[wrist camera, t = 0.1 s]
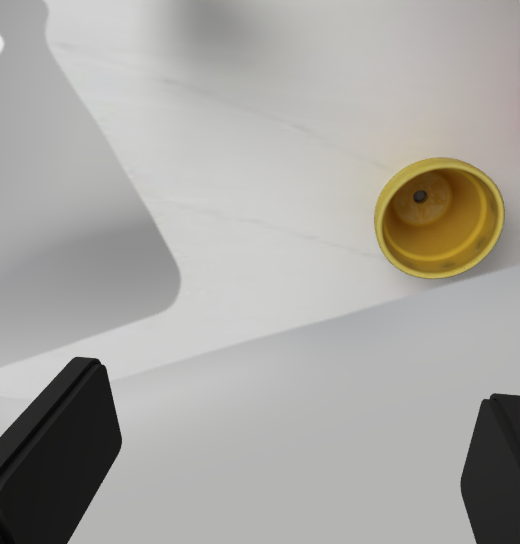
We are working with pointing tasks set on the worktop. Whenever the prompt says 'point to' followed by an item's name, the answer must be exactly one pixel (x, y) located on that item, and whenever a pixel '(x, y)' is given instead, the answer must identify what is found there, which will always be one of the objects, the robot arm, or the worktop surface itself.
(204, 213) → the worktop surface
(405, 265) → the plant pot
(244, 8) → the worktop surface
